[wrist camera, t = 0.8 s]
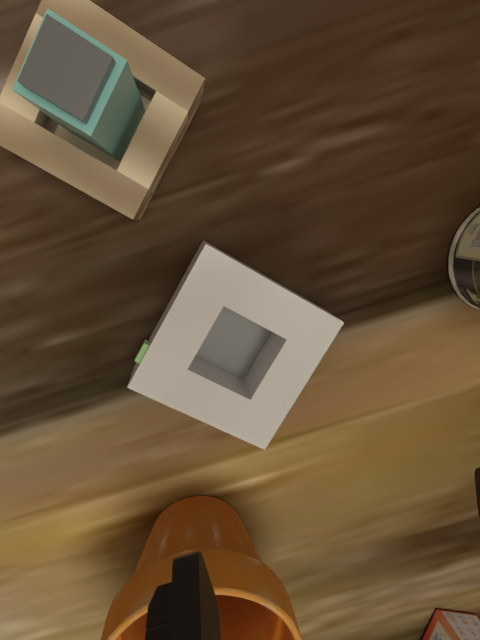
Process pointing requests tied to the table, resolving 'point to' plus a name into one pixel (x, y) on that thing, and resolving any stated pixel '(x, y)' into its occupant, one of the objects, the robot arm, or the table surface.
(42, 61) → the plug
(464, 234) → the coffee can
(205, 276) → the port
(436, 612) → the cracker box
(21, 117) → the holster
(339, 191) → the table surface
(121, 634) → the flower pot
